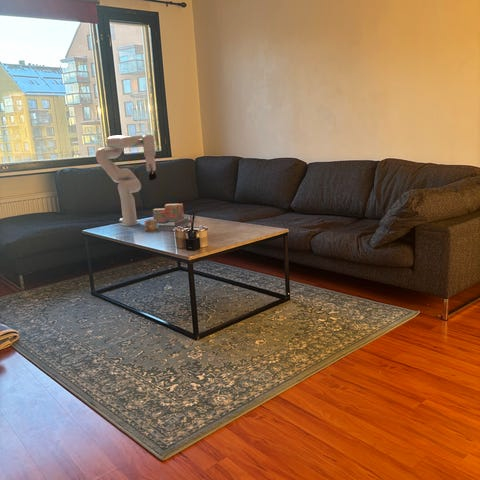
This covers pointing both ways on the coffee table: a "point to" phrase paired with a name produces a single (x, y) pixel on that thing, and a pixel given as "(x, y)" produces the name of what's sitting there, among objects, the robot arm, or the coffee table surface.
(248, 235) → the coffee table surface
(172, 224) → the dock
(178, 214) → the stack of blocks
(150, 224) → the pedestal
